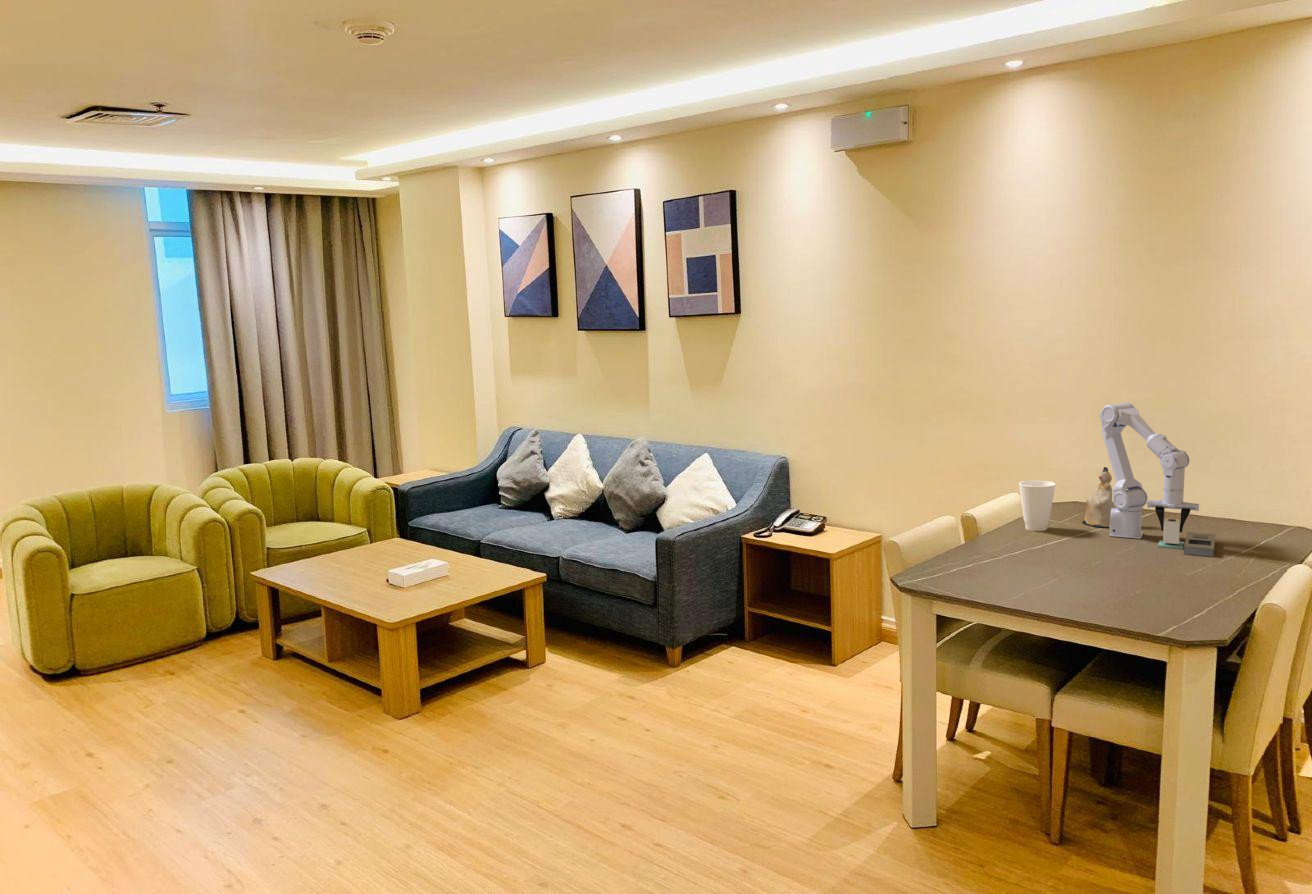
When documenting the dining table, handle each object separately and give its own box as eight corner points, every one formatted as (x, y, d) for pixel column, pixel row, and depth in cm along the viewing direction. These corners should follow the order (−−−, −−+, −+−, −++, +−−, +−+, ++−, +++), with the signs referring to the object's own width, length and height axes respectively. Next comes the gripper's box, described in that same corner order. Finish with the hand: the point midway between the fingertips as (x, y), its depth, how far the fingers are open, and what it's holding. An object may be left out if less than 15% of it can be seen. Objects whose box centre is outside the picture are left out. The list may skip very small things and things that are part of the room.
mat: (1158, 547, 317) (1158, 545, 317) (1159, 541, 323) (1159, 540, 323) (1182, 549, 313) (1183, 547, 313) (1184, 544, 319) (1184, 542, 319)
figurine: (1076, 522, 353) (1078, 466, 350) (1101, 519, 356) (1103, 463, 353) (1100, 529, 342) (1102, 471, 339) (1125, 526, 345) (1127, 469, 342)
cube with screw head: (1162, 542, 317) (1163, 520, 316) (1163, 539, 321) (1164, 517, 320) (1178, 544, 315) (1179, 521, 314) (1179, 540, 319) (1180, 518, 317)
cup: (1010, 527, 349) (1011, 482, 346) (1035, 523, 354) (1036, 478, 351) (1036, 534, 338) (1037, 487, 336) (1062, 529, 343) (1063, 484, 341)
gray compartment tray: (1183, 554, 307) (1184, 546, 307) (1186, 539, 325) (1187, 531, 324) (1213, 556, 303) (1213, 548, 303) (1215, 541, 321) (1215, 533, 320)
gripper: (1147, 489, 315) (1145, 531, 318) (1199, 492, 308) (1197, 535, 310) (1148, 485, 321) (1147, 527, 324) (1200, 488, 314) (1198, 530, 316)
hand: (1171, 531), depth 317 cm, fingers closed on cube with screw head, 4 cm apart
